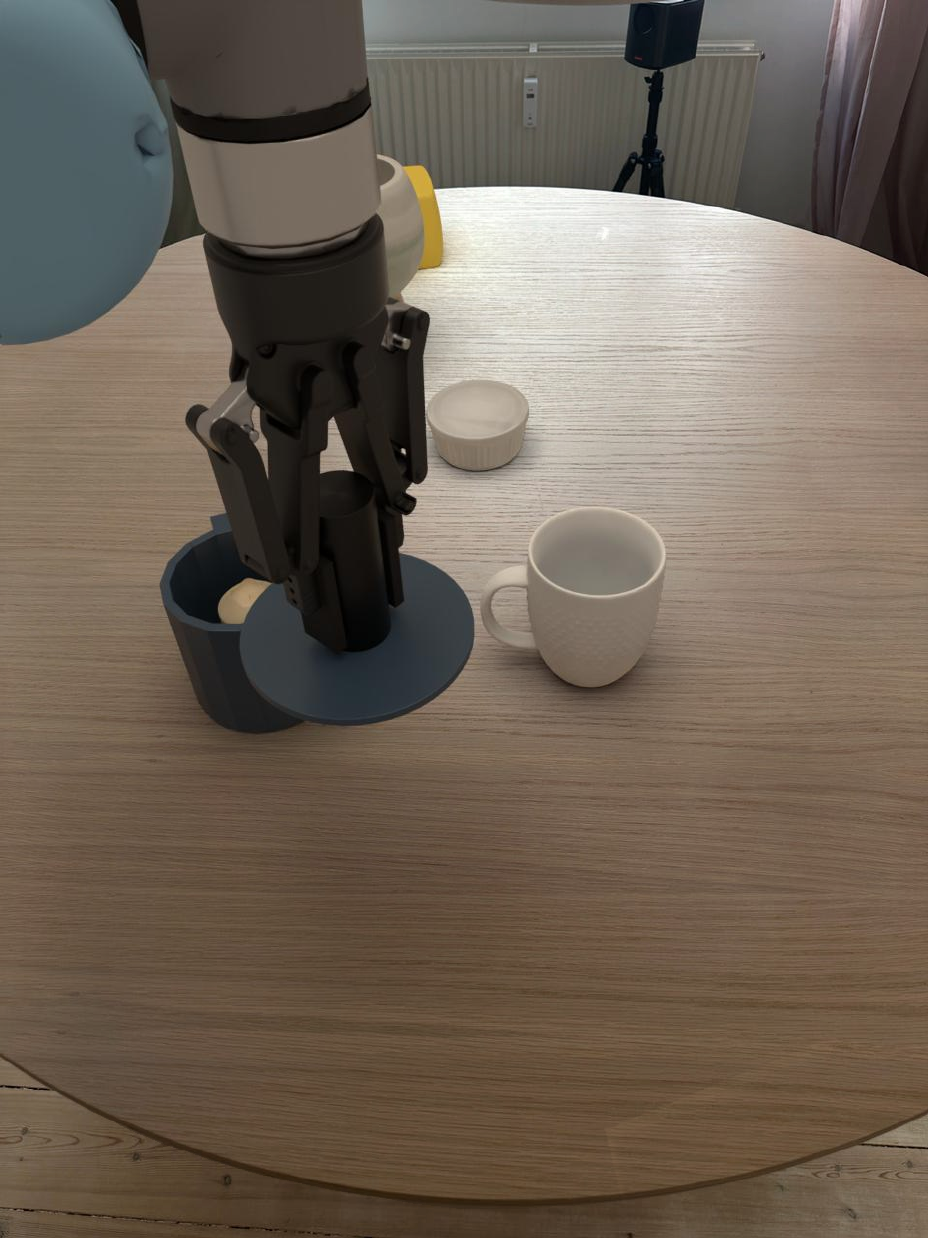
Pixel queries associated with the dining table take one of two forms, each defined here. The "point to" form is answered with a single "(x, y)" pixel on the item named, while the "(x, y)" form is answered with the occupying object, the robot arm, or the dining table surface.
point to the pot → (215, 631)
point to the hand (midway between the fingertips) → (355, 616)
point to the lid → (359, 626)
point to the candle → (240, 600)
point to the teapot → (428, 216)
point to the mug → (586, 593)
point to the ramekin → (478, 423)
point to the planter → (400, 225)
